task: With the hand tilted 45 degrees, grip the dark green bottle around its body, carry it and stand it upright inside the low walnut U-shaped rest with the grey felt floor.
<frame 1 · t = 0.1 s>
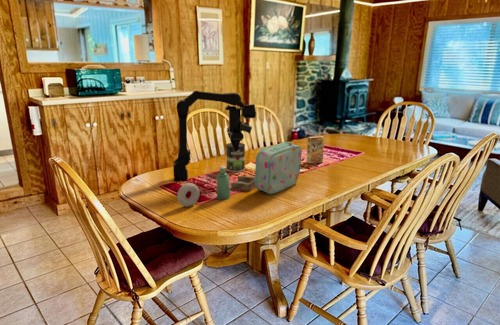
hand: (235, 149, 179), 15 cm above the table, tool pointing down, fingers open, 9 cm apart
candy box: (314, 162, 208), on the table
donut: (189, 206, 146), on the table
coffee can: (235, 169, 195), on the table
lunch box: (278, 187, 167), on the table
rest: (243, 185, 169), on the table
bottle: (223, 197, 155), on the table
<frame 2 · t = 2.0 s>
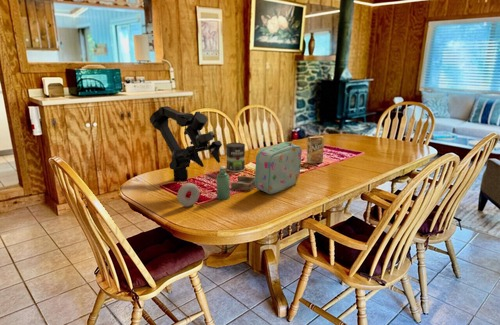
hand: (211, 164, 157), 13 cm above the table, tool tilted 45°, fingers open, 9 cm apart
nothing on the table moved.
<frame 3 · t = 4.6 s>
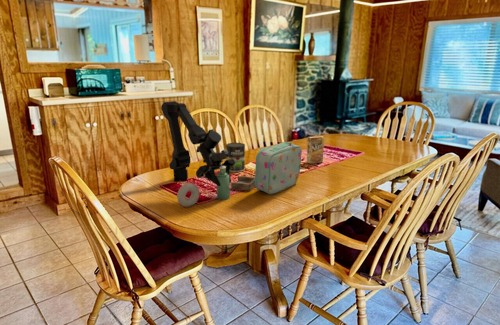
hand: (225, 184, 152), 7 cm above the table, tool tilted 45°, fingers closed on bottle, 6 cm apart
bottle: (223, 197, 155), on the table, touching gripper
everything else where it was.
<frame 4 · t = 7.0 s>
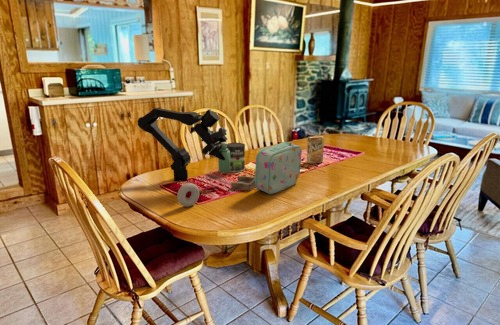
hand: (226, 158, 167), 13 cm above the table, tool tilted 45°, fingers closed on bottle, 6 cm apart
bottle: (224, 171, 170), point 7 cm above the table, touching gripper
everything else where it was.
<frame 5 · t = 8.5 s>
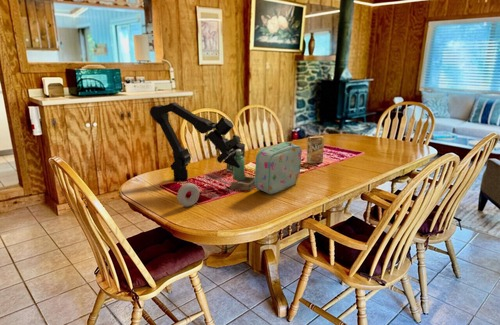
hand: (241, 165, 166), 10 cm above the table, tool tilted 45°, fingers closed on bottle, 6 cm apart
bottle: (238, 178, 169), point 3 cm above the table, touching gripper
everything else where it was.
when the fingers open (9 cm above the table, at t = 9.5 s): bottle drops 1 cm, resting on rest.
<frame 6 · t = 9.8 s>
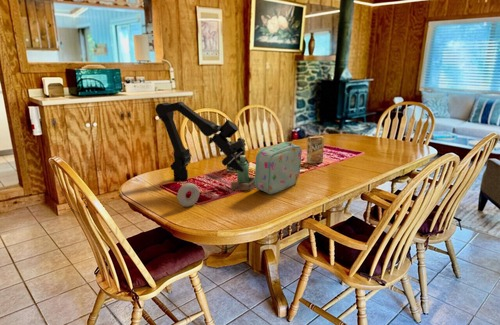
hand: (246, 168, 166), 9 cm above the table, tool tilted 45°, fingers open, 9 cm apart
bottle: (243, 184, 169), point 1 cm above the table, touching rest
everything else where it was.
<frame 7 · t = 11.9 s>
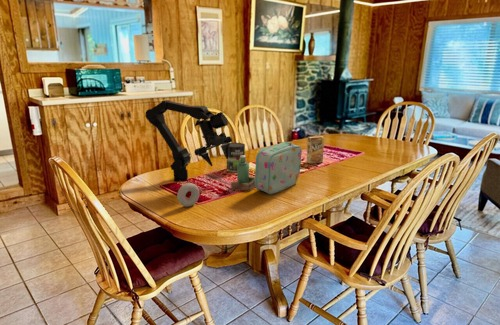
hand: (219, 162, 169), 11 cm above the table, tool tilted 20°, fingers open, 9 cm apart
nothing on the table moved.
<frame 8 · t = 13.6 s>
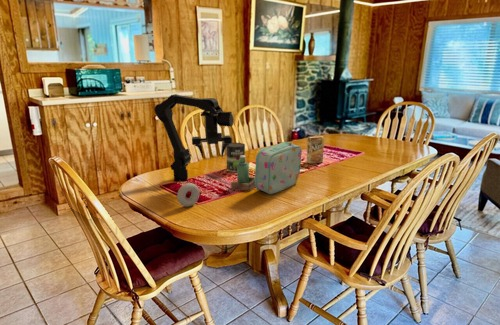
hand: (212, 157, 170), 13 cm above the table, tool pointing down, fingers open, 9 cm apart
nothing on the table moved.
at the end: bottle 0.1 cm off-centre on the rest, point 0.8 cm above the rest's base; bottle tilted 1°; the gripper is holding nothing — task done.
